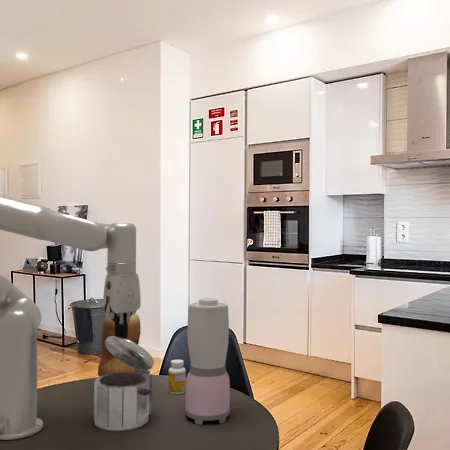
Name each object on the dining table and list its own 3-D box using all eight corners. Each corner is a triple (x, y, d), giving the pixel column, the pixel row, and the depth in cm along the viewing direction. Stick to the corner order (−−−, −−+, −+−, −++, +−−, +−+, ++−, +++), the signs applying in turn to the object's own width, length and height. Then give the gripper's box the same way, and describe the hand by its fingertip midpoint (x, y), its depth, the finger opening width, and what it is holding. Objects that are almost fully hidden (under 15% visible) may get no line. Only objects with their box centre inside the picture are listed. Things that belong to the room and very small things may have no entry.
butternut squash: (142, 396, 152) (142, 314, 153) (96, 399, 149) (97, 316, 149) (139, 382, 166) (140, 307, 166) (97, 385, 163) (98, 308, 163)
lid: (135, 343, 127) (139, 337, 128) (94, 337, 134) (98, 331, 135) (162, 377, 136) (165, 371, 137) (122, 369, 143) (126, 363, 145)
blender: (234, 423, 131) (235, 302, 132) (188, 427, 129) (189, 303, 129) (222, 403, 147) (223, 294, 147) (181, 406, 144) (182, 295, 145)
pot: (129, 437, 122) (129, 392, 122) (77, 422, 131) (78, 380, 132) (168, 417, 136) (169, 376, 136) (119, 404, 145) (120, 366, 145)
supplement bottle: (166, 390, 159) (167, 359, 159) (183, 388, 160) (183, 358, 160) (170, 395, 153) (170, 363, 154) (187, 393, 155) (187, 362, 155)
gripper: (112, 271, 124) (111, 345, 124) (150, 268, 137) (150, 334, 137) (90, 270, 128) (90, 341, 128) (130, 266, 141) (129, 331, 141)
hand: (121, 338), depth 132 cm, fingers closed
